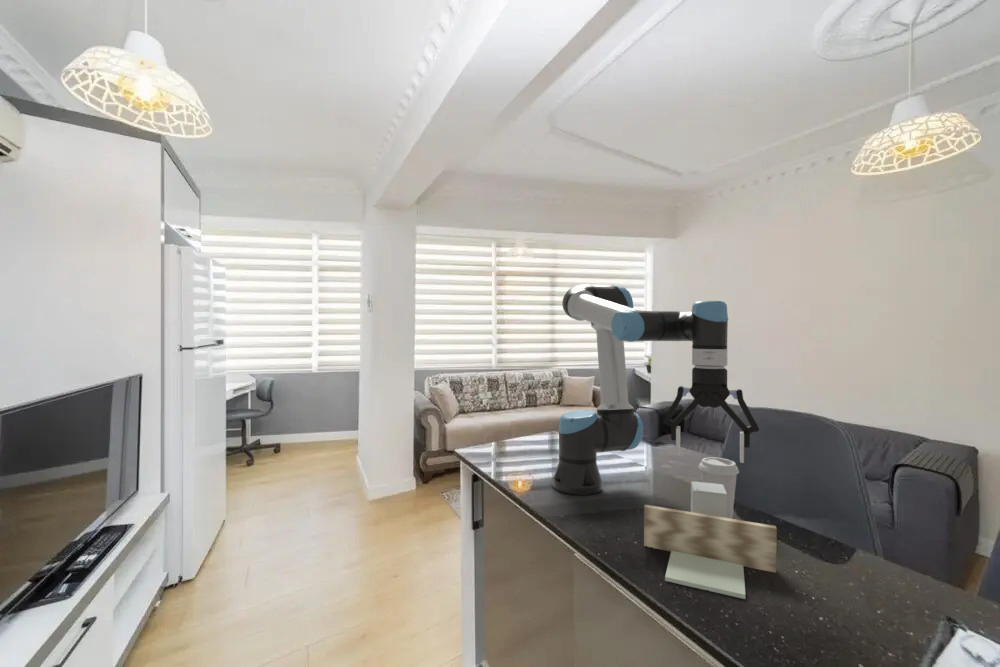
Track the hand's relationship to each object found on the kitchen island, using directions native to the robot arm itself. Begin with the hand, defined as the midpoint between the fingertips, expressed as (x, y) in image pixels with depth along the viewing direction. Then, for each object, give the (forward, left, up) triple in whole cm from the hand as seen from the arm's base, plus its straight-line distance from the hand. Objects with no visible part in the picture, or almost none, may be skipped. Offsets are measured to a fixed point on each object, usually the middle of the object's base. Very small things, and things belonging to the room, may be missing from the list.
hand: (709, 457), depth 108 cm
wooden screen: (0, -9, -19) cm, 21 cm away
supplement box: (0, 0, -20) cm, 20 cm away
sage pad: (0, -17, -19) cm, 26 cm away
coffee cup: (+2, +15, -20) cm, 25 cm away
